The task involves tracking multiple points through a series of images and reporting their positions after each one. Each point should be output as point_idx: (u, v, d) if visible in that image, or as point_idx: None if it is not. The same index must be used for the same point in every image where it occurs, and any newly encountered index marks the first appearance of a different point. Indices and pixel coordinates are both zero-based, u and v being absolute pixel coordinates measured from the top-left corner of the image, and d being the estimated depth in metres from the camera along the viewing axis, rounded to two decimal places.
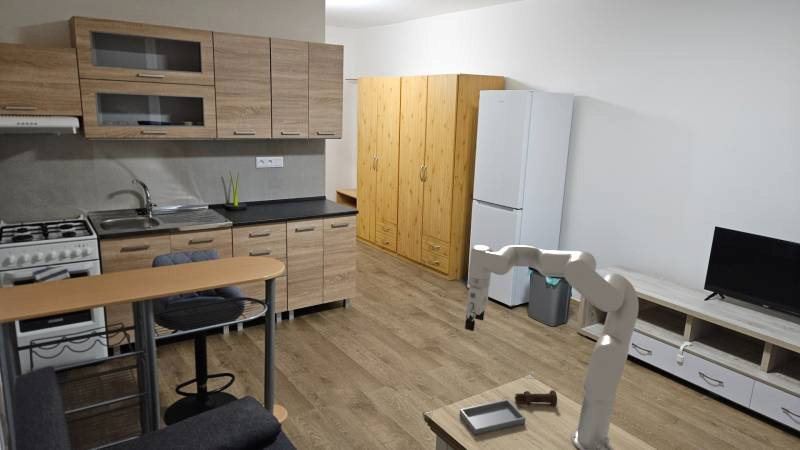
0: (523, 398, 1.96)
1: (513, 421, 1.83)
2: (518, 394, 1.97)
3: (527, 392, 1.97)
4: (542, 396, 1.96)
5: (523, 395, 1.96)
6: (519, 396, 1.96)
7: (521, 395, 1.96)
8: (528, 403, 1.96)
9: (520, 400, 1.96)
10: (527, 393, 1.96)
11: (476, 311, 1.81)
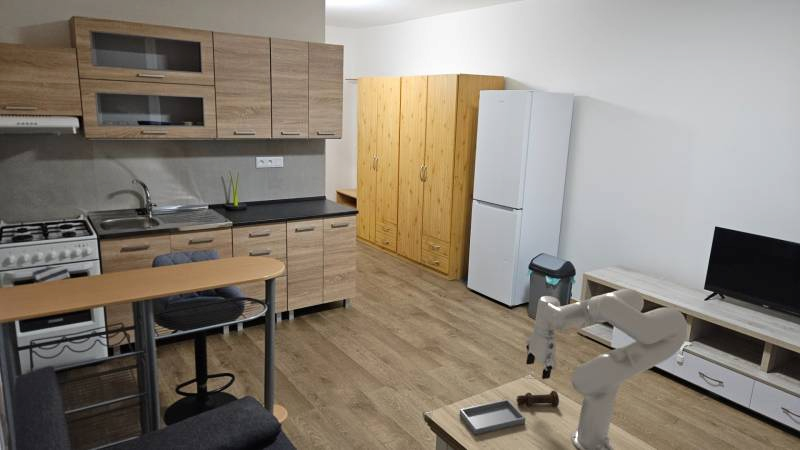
0: (525, 400, 1.95)
1: (513, 421, 1.83)
2: (520, 396, 1.95)
3: (529, 394, 1.96)
4: (544, 397, 1.96)
5: (525, 397, 1.95)
6: (521, 398, 1.95)
7: (523, 397, 1.95)
8: (530, 405, 1.95)
9: (522, 402, 1.95)
10: (529, 395, 1.95)
11: (553, 359, 1.89)
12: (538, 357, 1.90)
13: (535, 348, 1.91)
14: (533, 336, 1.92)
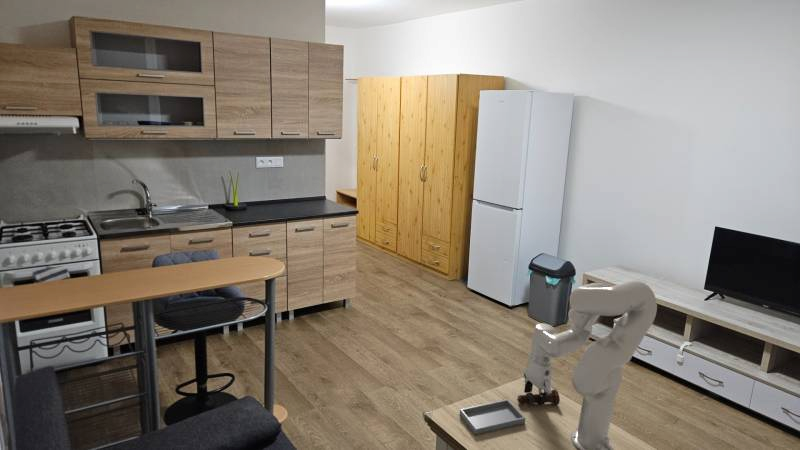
0: (526, 400, 1.95)
1: (513, 421, 1.83)
2: (521, 396, 1.95)
3: (530, 394, 1.96)
4: None
5: (526, 397, 1.95)
6: (522, 399, 1.95)
7: (524, 397, 1.95)
8: None
9: (523, 402, 1.95)
10: (530, 396, 1.95)
11: (549, 385, 1.92)
12: (534, 383, 1.93)
13: (531, 374, 1.94)
14: (529, 362, 1.95)
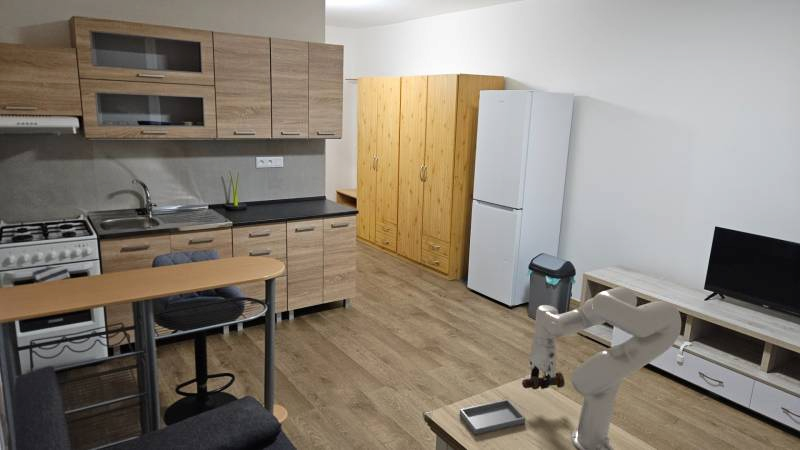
0: (531, 384, 1.92)
1: (513, 421, 1.83)
2: (526, 381, 1.93)
3: (535, 378, 1.93)
4: None
5: (531, 381, 1.93)
6: (527, 383, 1.92)
7: (529, 382, 1.93)
8: (536, 388, 1.93)
9: (528, 386, 1.92)
10: (535, 380, 1.92)
11: (554, 368, 1.89)
12: (539, 367, 1.90)
13: (536, 358, 1.91)
14: (533, 346, 1.93)
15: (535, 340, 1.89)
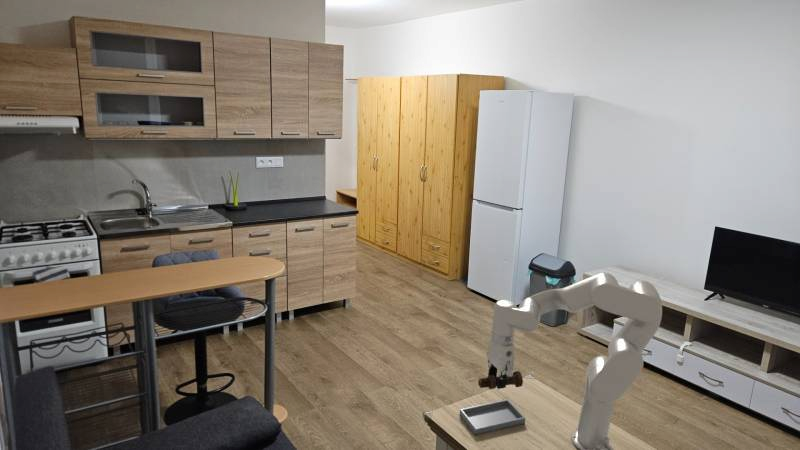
0: (488, 384, 1.80)
1: (513, 421, 1.83)
2: (482, 380, 1.80)
3: (492, 377, 1.81)
4: (507, 379, 1.81)
5: (488, 381, 1.80)
6: (483, 382, 1.80)
7: (485, 381, 1.80)
8: (493, 388, 1.81)
9: (484, 386, 1.80)
10: (491, 379, 1.80)
11: (512, 367, 1.76)
12: (496, 366, 1.78)
13: (493, 356, 1.79)
14: (490, 343, 1.80)
15: (492, 337, 1.76)
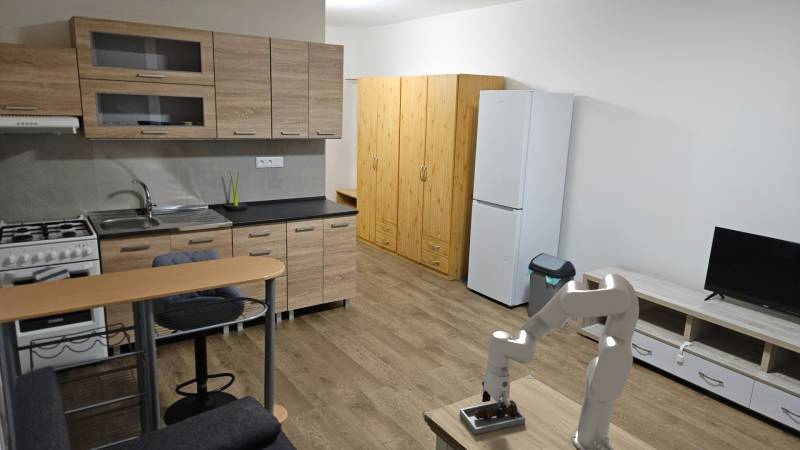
0: (484, 414, 1.84)
1: (513, 421, 1.83)
2: (478, 410, 1.84)
3: (487, 407, 1.85)
4: None
5: (483, 411, 1.84)
6: (480, 412, 1.84)
7: (481, 411, 1.84)
8: (489, 418, 1.84)
9: (481, 416, 1.84)
10: (487, 408, 1.84)
11: (507, 397, 1.80)
12: (492, 395, 1.81)
13: (489, 386, 1.82)
14: (487, 373, 1.83)
15: (488, 368, 1.79)
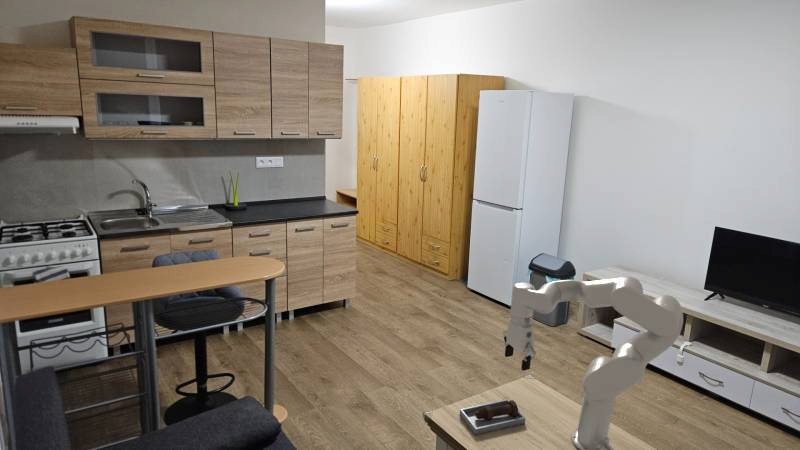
0: (485, 414, 1.84)
1: (513, 421, 1.83)
2: (479, 411, 1.84)
3: (487, 407, 1.85)
4: (503, 408, 1.86)
5: (484, 411, 1.84)
6: (480, 413, 1.84)
7: (482, 411, 1.84)
8: (490, 418, 1.84)
9: (482, 417, 1.84)
10: (488, 408, 1.84)
11: None
12: (516, 348, 1.80)
13: (512, 338, 1.81)
14: (509, 326, 1.83)
15: (511, 319, 1.79)
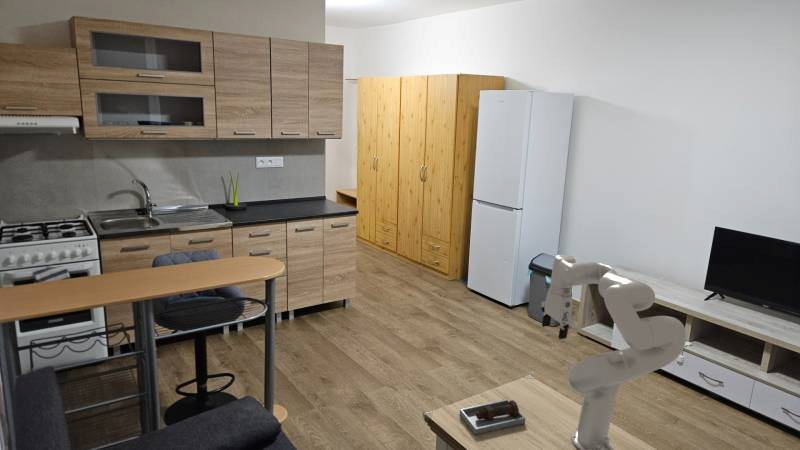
0: (485, 414, 1.84)
1: (513, 421, 1.83)
2: (479, 411, 1.84)
3: (488, 407, 1.85)
4: (503, 408, 1.86)
5: (485, 411, 1.84)
6: (481, 413, 1.83)
7: (483, 411, 1.84)
8: (491, 419, 1.84)
9: (482, 417, 1.83)
10: (488, 409, 1.84)
11: None
12: (554, 317, 1.88)
13: (551, 308, 1.89)
14: (548, 296, 1.90)
15: (551, 290, 1.87)
